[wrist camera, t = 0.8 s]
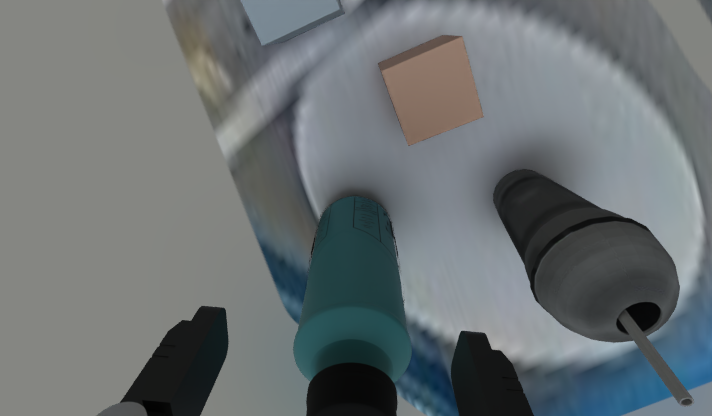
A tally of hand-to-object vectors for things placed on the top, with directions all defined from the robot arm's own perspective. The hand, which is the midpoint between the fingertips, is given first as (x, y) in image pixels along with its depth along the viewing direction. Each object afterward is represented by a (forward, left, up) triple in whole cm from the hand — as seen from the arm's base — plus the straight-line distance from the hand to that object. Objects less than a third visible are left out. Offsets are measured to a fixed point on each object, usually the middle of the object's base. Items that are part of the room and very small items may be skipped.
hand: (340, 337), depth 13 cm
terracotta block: (-7, -4, -20) cm, 22 cm away
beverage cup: (-12, +8, -20) cm, 25 cm away
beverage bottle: (+2, +5, -20) cm, 21 cm away
